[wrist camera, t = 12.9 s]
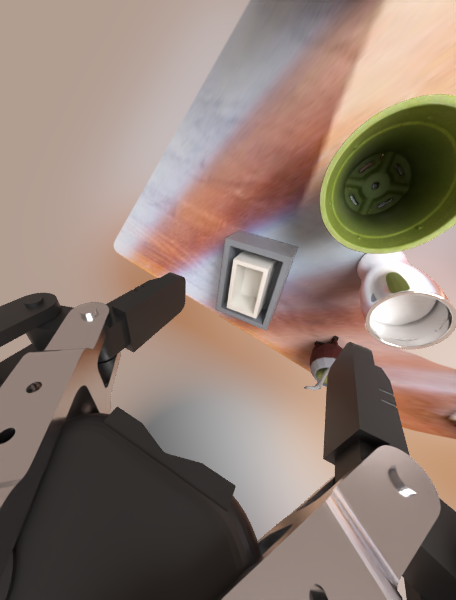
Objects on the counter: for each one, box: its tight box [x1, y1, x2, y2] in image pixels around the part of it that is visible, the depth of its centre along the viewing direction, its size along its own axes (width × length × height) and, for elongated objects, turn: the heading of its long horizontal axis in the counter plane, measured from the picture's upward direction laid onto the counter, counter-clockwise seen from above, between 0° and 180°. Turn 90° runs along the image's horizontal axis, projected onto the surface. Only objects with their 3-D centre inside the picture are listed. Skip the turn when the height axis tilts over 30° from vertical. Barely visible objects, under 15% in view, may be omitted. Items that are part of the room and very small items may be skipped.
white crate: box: [227, 250, 277, 319], centre depth 37 cm, size 6×10×6 cm, turn 173°
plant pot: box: [320, 94, 456, 254], centre depth 22 cm, size 12×12×11 cm
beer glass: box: [357, 251, 456, 349], centre depth 24 cm, size 7×7×15 cm
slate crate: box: [216, 230, 298, 330], centre depth 37 cm, size 11×15×6 cm
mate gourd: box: [304, 336, 343, 390], centre depth 35 cm, size 8×8×15 cm
